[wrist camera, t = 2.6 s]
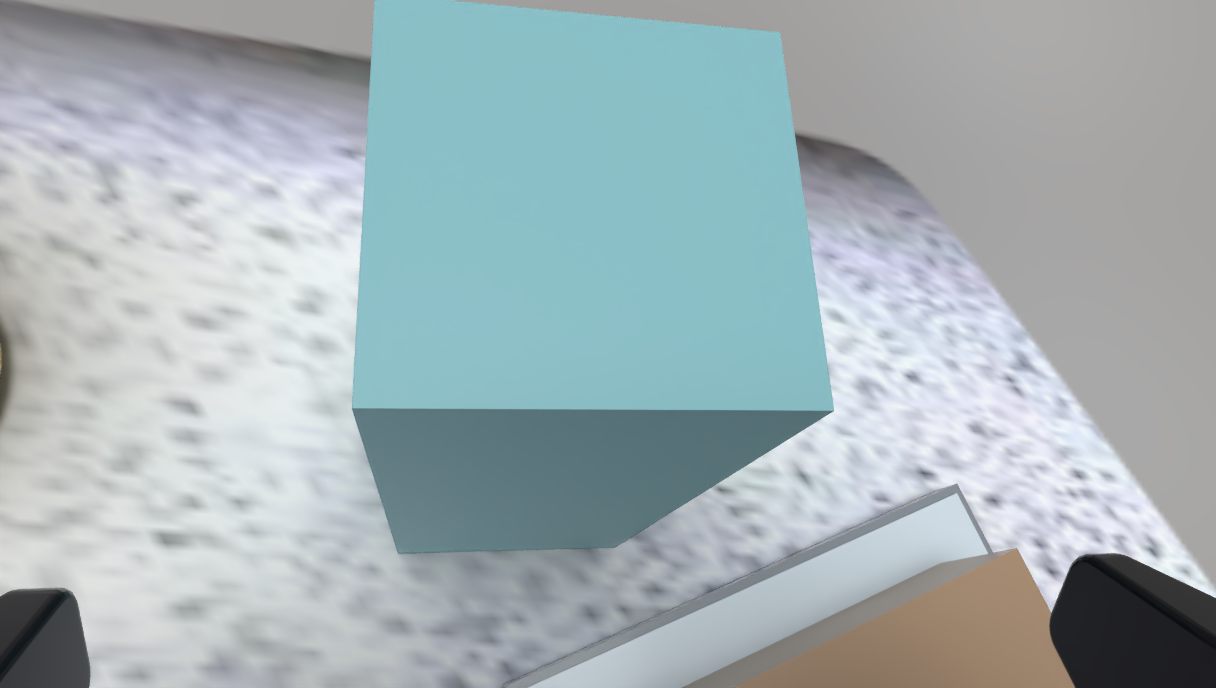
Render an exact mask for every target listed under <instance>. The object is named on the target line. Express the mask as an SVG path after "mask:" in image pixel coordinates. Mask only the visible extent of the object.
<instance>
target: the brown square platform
mask: <svg viewBox="0 0 1216 688" xmlns="http://www.w3.org/2000/svg"><path fill="white" fill-rule="evenodd" d="M1050 616H1051V612H1050V610H1049V608H1048V606H1047V604H1046V602H1045V600H1044V599H1043V597H1042V595H1041V593H1040V591H1039V589H1038V587H1037V585H1036V583H1035V581H1034V580H1033V578H1032V576H1031V574H1030V572H1029V570H1028V568H1027V566H1026V564H1025V563H1024V561H1023V559H1022V557H1021V555H1020V553H1019V551H1018V549H1017V548H1016V549H1011V550H1006V551H1000V552H995V553H993V552H992V550H991V548H990V546H989V544H988V542H987V540H986V538H985V536H984V534H983V533H982V531H981V529H980V527H979V525H978V523H977V521H976V519H975V517H974V515H973V513H972V511H971V509H970V508H969V506H968V504H967V502H966V500H965V498H964V496H963V494H962V492H961V490H960V488H959V486H958V484H954V485H951V486H948V487H945V488H942V489H939V490H937V491H934V492H932V493H930V494H927V495H925V496H923V497H921V498H918V499H916V500H914V501H912V502H909V503H907V504H905V505H903V506H901V507H898V508H896V509H894V510H892V511H889V512H887V513H885V514H883V515H880V516H878V517H876V518H874V519H871V520H869V521H867V522H865V523H863V524H860V525H858V526H856V527H854V528H851V529H849V530H847V531H845V532H842V533H840V534H838V535H836V536H834V537H831V538H829V539H827V540H825V541H822V542H820V543H818V544H816V545H813V546H811V547H809V548H807V549H804V550H802V551H800V552H798V553H796V554H793V555H791V556H789V557H787V558H784V559H782V560H780V561H778V562H775V563H773V564H771V565H769V566H767V567H764V568H762V569H760V570H758V571H755V572H753V573H751V574H749V575H746V576H744V577H742V578H740V579H737V580H735V581H733V582H731V583H729V584H726V585H724V586H722V587H720V588H717V589H715V590H713V591H711V592H708V593H706V594H704V595H702V596H700V597H697V598H695V599H693V600H691V601H688V602H686V603H684V604H682V605H679V606H677V607H675V608H673V609H670V610H668V611H666V612H664V613H662V614H659V615H657V616H655V617H653V618H650V619H648V620H646V621H644V622H641V623H639V624H637V625H635V626H633V627H630V628H628V629H626V630H624V631H621V632H619V633H617V634H615V635H612V636H610V637H608V638H606V639H603V640H601V641H599V642H597V643H595V644H592V645H590V646H588V647H586V648H583V649H581V650H579V651H577V652H574V653H572V654H570V655H568V656H566V657H563V658H561V659H559V660H557V661H554V662H552V663H550V664H548V665H545V666H543V667H541V668H539V669H536V670H534V671H532V672H530V673H528V674H525V675H523V676H521V677H519V678H516V679H514V680H512V681H510V682H507V683H505V684H503V687H504V688H1075V686H1074V685H1073V683H1072V681H1071V679H1070V677H1069V675H1068V673H1067V671H1066V669H1065V667H1064V665H1063V663H1062V661H1061V659H1060V657H1059V655H1058V653H1057V651H1056V649H1055V647H1054V645H1053V643H1052V640H1051V636H1050V631H1049V620H1050Z"/></svg>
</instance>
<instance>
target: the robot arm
mask: <svg viewBox="0 0 1216 688" xmlns="http://www.w3.org/2000/svg"><path fill="white" fill-rule="evenodd" d="M1049 631H1050V636H1051V640H1052V643H1053V645H1054V647H1055V649H1056V651H1057V653H1058V655H1059V657H1060V659H1061V661H1062V663H1063V665H1064V667H1065V669H1066V671H1067V673H1068V675H1069V677H1070V679H1071V681H1072V683H1073V685H1074V686H1075V688H1216V598H1214V597H1212V596H1210V595H1208V594H1206V593H1204V592H1202V591H1200V590H1198V589H1195V588H1193V587H1191V586H1189V585H1187V584H1185V583H1183V582H1181V581H1179V580H1176V579H1174V578H1172V577H1170V576H1168V575H1166V574H1164V573H1162V572H1160V571H1157V570H1155V569H1153V568H1151V567H1149V566H1147V565H1145V564H1143V563H1141V562H1138V561H1136V560H1134V559H1132V558H1130V557H1128V556H1125V555H1121V554H1116V553H1107V554H1086V555H1082V556H1079V557H1078V558H1077V559H1076V560H1075V561H1074V562H1073V563H1072V565H1071V566H1070V569H1069V571H1068V573H1067V576H1066V578H1065V581H1064V583H1063V586H1062V588H1061V591H1060V593H1059V596H1058V598H1057V601H1056V603H1055V606H1054V608H1053V610H1052V613H1051V616H1050V620H1049ZM89 686H90V662H89V657H88V652H87V647H86V642H85V637H84V632H83V627H82V622H81V617H80V612H79V607H78V603H77V600H76V598H75V596H74V595H73V593H72V592H71V591H69V590H67V589H65V588H37V589H18V590H13V591H10V592H7V593H6V594H4V595H2V596H0V688H89Z"/></svg>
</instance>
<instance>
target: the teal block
mask: <svg viewBox="0 0 1216 688" xmlns="http://www.w3.org/2000/svg"><path fill="white" fill-rule="evenodd" d="M374 4H375V5H374V22H373V38H372V56H371V74H370V92H369V110H368V128H367V146H366V164H365V182H364V200H363V218H362V236H361V254H360V272H359V290H358V308H357V326H356V344H355V362H354V380H353V398H352V410H353V413H354V416H355V420H356V423H357V426H358V429H359V432H360V435H361V438H362V441H363V445H364V448H365V451H366V454H367V457H368V460H369V463H370V467H371V470H372V473H373V476H374V479H375V482H376V485H377V488H378V492H379V495H380V498H381V501H382V504H383V507H384V510H385V514H386V517H387V520H388V523H389V526H390V529H391V532H392V535H393V539H394V542H395V545H396V548H397V551H398V553H427V552H464V551H501V550H538V549H575V548H612V547H616V546H618V545H620V544H621V543H623V542H625V541H626V540H628V539H629V538H631V537H633V536H634V535H636V534H637V533H639V532H641V531H642V530H644V529H645V528H647V527H649V526H650V525H652V524H653V523H655V522H657V521H658V520H660V519H661V518H663V517H665V516H666V515H668V514H669V513H671V512H673V511H674V510H676V509H677V508H679V507H681V506H682V505H684V504H685V503H687V502H689V501H690V500H692V499H693V498H695V497H697V496H698V495H700V494H701V493H703V492H705V491H706V490H708V489H709V488H711V487H713V486H714V485H716V484H717V483H719V482H721V481H722V480H724V479H725V478H727V477H729V476H730V475H732V474H733V473H735V472H737V471H738V470H740V469H741V468H743V467H745V466H746V465H748V464H749V463H751V462H753V461H754V460H756V459H757V458H759V457H761V456H762V455H764V454H766V453H767V452H769V451H770V450H772V449H774V448H775V447H777V446H778V445H780V444H782V443H783V442H785V441H786V440H788V439H790V438H791V437H793V436H794V435H796V434H798V433H799V432H801V431H802V430H804V429H806V428H807V427H809V426H810V425H812V424H814V423H815V422H817V421H818V420H820V419H822V418H823V417H825V416H826V415H828V414H830V413H831V412H833V411H834V407H833V400H832V393H831V386H830V379H829V372H828V365H827V358H826V351H825V344H824V337H823V330H822V323H821V316H820V309H819V302H818V295H817V288H816V281H815V274H814V267H813V260H812V253H811V246H810V239H809V232H808V225H807V218H806V211H805V204H804V197H803V190H802V183H801V176H800V169H799V162H798V155H797V148H796V141H795V134H794V127H793V120H792V113H791V107H790V99H789V92H788V85H787V78H786V71H785V65H784V57H783V50H782V43H781V36H780V32H772V31H762V30H751V29H741V28H731V27H720V26H710V25H709V26H708V25H700V24H689V23H679V22H668V21H658V20H648V19H637V18H626V17H616V16H605V15H596V14H585V13H575V12H564V11H554V10H544V9H533V8H523V7H513V6H502V5H492V4H481V3H471V2H460V1H451V0H375V3H374Z"/></svg>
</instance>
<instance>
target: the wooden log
mask: <svg viewBox="0 0 1216 688" xmlns="http://www.w3.org/2000/svg"><path fill="white" fill-rule="evenodd" d="M1 366H2V362H1V345H0V375H1Z"/></svg>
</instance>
